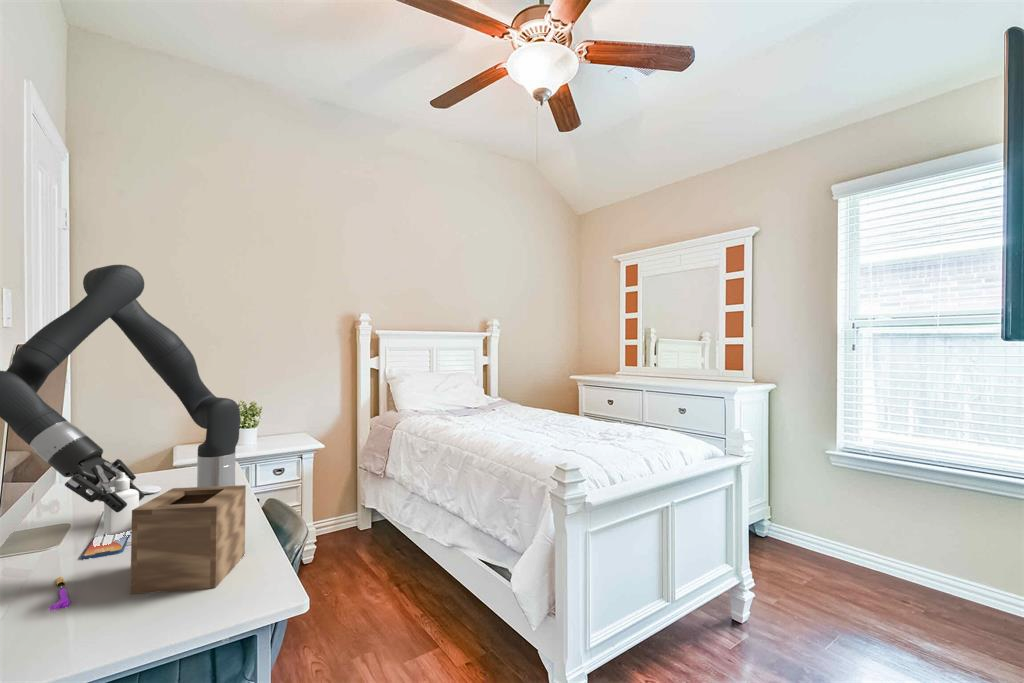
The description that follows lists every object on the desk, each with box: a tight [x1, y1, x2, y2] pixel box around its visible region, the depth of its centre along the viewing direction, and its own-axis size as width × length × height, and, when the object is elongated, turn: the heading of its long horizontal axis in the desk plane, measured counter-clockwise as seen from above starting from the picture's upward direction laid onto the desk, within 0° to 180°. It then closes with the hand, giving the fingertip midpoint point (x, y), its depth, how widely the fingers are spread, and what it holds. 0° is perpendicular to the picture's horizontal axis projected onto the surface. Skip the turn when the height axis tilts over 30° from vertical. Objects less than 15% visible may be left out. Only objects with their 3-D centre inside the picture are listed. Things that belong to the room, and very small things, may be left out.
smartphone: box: [81, 535, 131, 560], centre depth 115 cm, size 7×15×1 cm, turn 32°
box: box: [129, 484, 247, 595], centre depth 100 cm, size 15×15×16 cm
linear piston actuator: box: [48, 576, 71, 612], centre depth 92 cm, size 3×1×16 cm
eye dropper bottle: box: [103, 472, 140, 535], centre depth 99 cm, size 4×6×12 cm
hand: (131, 503), depth 100 cm, fingers closed on eye dropper bottle, 5 cm apart
